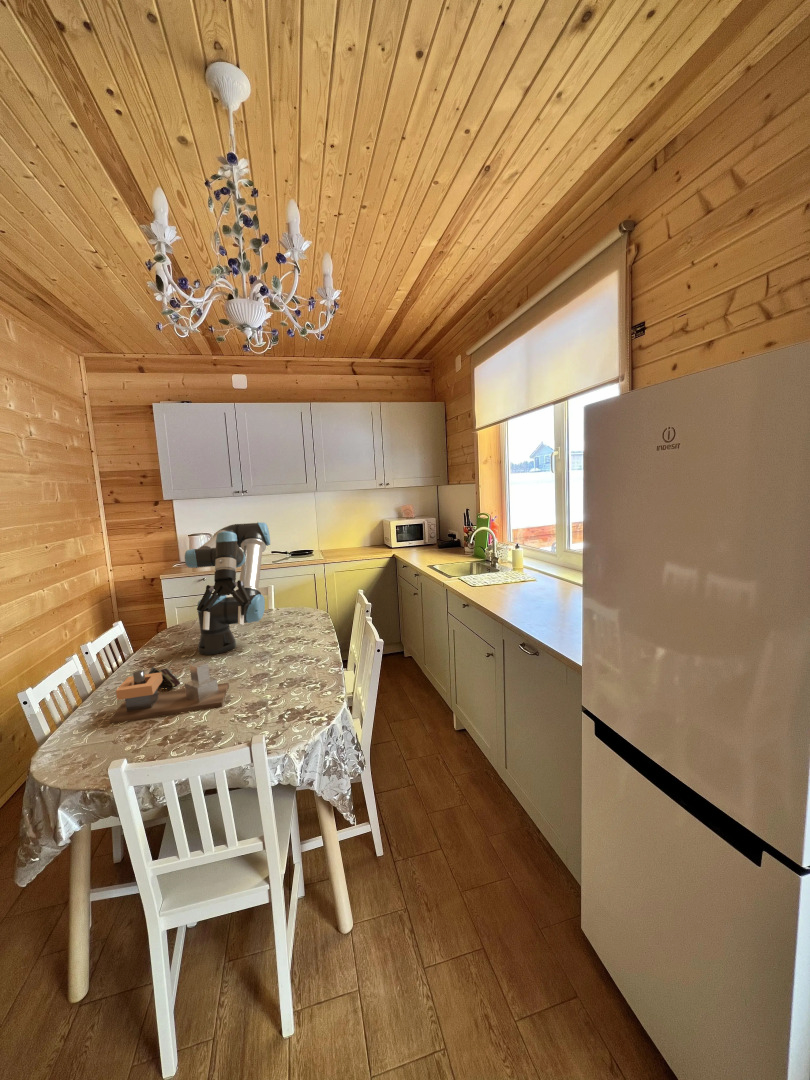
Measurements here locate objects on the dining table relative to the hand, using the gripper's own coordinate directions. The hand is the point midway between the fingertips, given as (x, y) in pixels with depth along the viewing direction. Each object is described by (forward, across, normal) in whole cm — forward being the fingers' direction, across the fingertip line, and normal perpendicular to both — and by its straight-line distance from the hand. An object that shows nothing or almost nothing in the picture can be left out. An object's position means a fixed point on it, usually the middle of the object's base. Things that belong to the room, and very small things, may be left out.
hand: (223, 627), depth 159 cm
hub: (+23, -3, -6) cm, 24 cm away
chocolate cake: (+18, -23, +4) cm, 29 cm away
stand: (+24, -20, -12) cm, 33 cm away
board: (+25, -11, -8) cm, 29 cm away
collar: (+20, -19, -14) cm, 31 cm away
